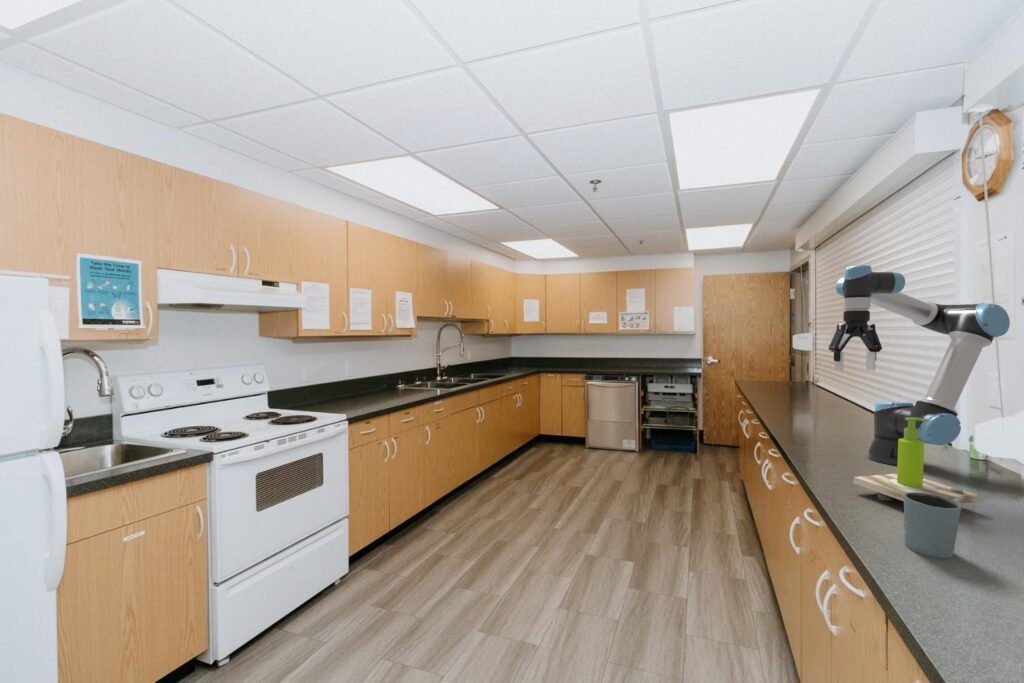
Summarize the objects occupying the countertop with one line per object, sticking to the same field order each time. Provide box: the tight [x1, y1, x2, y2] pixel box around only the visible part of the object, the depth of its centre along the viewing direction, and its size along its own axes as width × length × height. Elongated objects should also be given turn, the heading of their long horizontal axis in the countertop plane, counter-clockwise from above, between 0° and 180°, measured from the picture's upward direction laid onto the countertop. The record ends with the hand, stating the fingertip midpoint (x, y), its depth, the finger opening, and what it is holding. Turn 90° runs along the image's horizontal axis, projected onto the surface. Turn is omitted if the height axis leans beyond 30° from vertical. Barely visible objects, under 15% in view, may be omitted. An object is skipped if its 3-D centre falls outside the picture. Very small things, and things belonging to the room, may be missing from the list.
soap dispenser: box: [896, 417, 929, 488], centre depth 141 cm, size 6×7×20 cm
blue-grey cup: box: [903, 492, 962, 559], centre depth 111 cm, size 10×10×12 cm
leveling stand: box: [853, 473, 978, 505], centre depth 141 cm, size 20×20×6 cm
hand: (854, 370), depth 167 cm, fingers open, 13 cm apart
